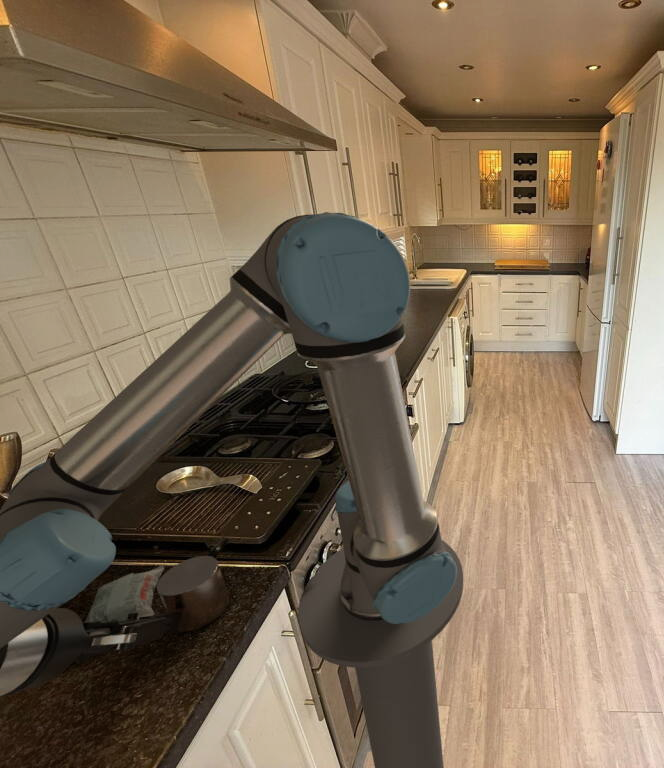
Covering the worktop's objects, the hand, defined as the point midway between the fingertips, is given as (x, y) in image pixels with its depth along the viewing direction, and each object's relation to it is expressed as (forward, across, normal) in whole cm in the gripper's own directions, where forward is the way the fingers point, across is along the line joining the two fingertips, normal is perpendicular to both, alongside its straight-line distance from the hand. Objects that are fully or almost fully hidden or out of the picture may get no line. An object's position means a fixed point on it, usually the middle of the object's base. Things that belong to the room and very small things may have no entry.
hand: (174, 621), depth 63 cm
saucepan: (+9, -1, +3) cm, 9 cm away
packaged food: (+7, -12, +1) cm, 14 cm away
